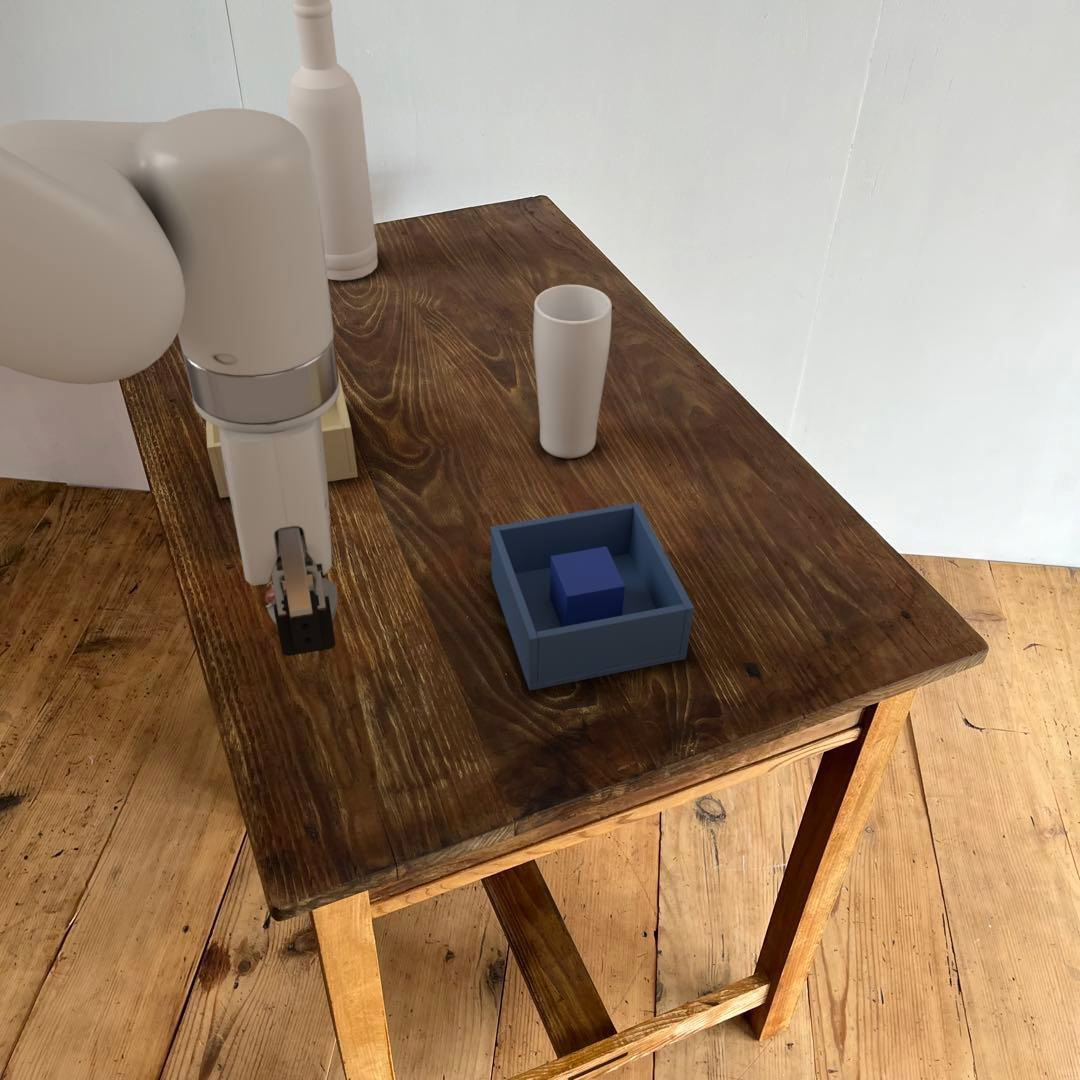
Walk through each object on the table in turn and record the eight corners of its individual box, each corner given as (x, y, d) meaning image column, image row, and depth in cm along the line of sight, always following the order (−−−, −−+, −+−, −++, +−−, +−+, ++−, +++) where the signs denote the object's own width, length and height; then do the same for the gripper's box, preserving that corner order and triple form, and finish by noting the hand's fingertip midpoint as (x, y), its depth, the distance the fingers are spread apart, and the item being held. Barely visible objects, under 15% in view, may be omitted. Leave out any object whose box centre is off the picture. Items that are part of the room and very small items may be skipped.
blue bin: (529, 691, 74) (529, 639, 70) (491, 578, 83) (490, 526, 79) (685, 659, 76) (694, 607, 73) (633, 552, 85) (638, 501, 81)
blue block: (565, 638, 77) (567, 596, 74) (549, 597, 80) (550, 555, 77) (621, 627, 78) (625, 585, 75) (603, 587, 81) (606, 545, 78)
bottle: (327, 288, 118) (287, 6, 98) (301, 260, 123) (258, -13, 103) (389, 271, 121) (363, -5, 101) (362, 245, 126) (332, -23, 106)
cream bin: (220, 498, 90) (206, 447, 86) (215, 420, 98) (203, 371, 95) (358, 477, 92) (351, 427, 88) (341, 403, 101) (335, 354, 97)
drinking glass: (582, 416, 100) (589, 277, 90) (616, 454, 95) (627, 312, 85) (520, 434, 97) (520, 293, 87) (551, 474, 93) (555, 330, 83)
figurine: (338, 651, 63) (328, 581, 59) (266, 654, 63) (251, 584, 59) (343, 592, 67) (334, 523, 63) (275, 595, 67) (261, 525, 63)
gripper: (186, 297, 58) (237, 536, 70) (190, 477, 45) (251, 731, 57) (319, 285, 59) (347, 521, 71) (358, 456, 47) (383, 707, 59)
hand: (304, 612), depth 64 cm, fingers closed on figurine, 5 cm apart
